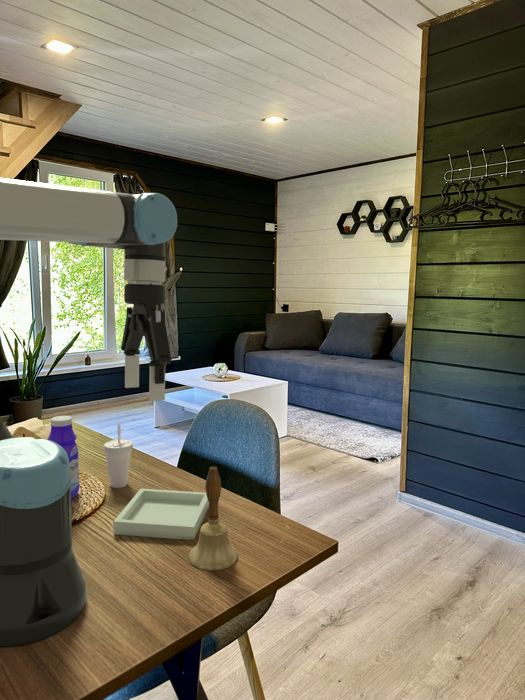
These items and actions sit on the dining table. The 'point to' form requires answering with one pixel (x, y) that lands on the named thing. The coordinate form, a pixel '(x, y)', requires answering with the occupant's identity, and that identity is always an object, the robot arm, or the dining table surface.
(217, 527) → the hand bell
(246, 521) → the dining table surface
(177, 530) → the tray
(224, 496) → the dining table surface
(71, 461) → the bottle
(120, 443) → the smoothie
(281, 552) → the dining table surface
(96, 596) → the dining table surface
